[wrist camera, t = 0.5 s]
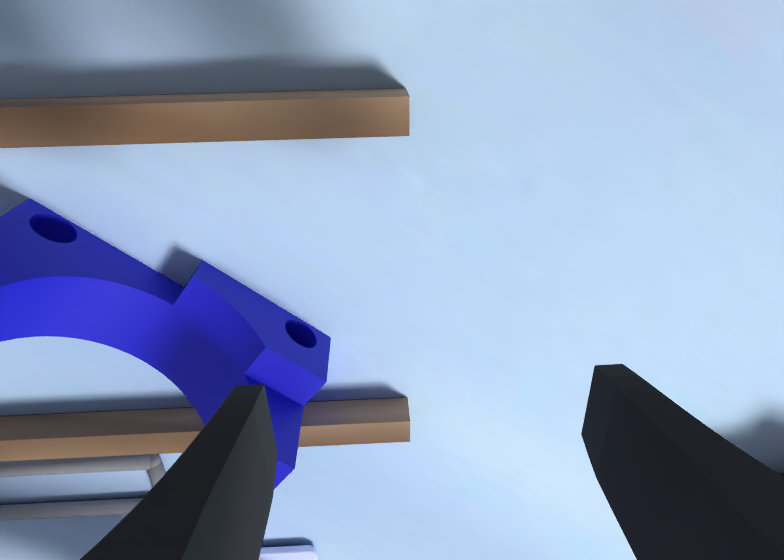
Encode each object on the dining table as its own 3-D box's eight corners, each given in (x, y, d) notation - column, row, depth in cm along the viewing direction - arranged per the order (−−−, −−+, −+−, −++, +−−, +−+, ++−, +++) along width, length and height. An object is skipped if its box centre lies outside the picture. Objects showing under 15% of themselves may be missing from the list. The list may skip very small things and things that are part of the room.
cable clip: (331, 335, 22) (320, 442, 17) (272, 400, 24) (247, 516, 19) (49, 164, 18) (-79, 234, 13) (2, 256, 20) (-129, 352, 15)
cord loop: (178, 502, 26) (174, 514, 26) (-79, 515, 26) (-90, 528, 25) (161, 450, 25) (156, 461, 24) (-116, 463, 24) (-128, 475, 24)
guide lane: (407, 417, 24) (413, 478, 21) (-145, 443, 24) (-221, 510, 21) (405, 88, 17) (414, 109, 14) (-385, 109, 16) (-555, 136, 13)
